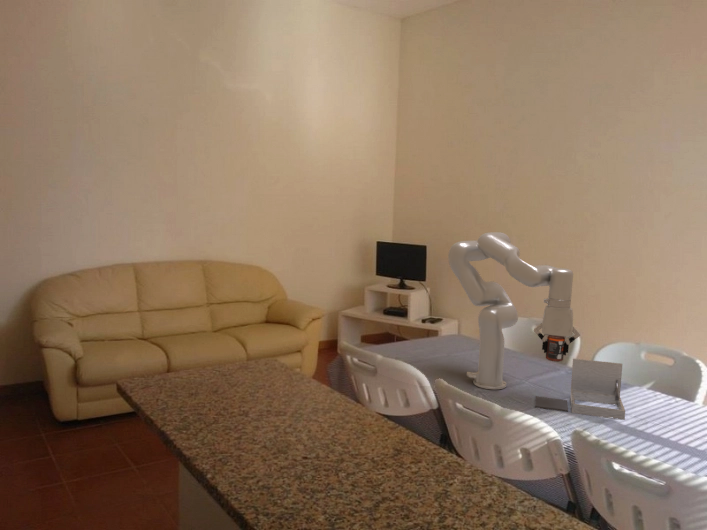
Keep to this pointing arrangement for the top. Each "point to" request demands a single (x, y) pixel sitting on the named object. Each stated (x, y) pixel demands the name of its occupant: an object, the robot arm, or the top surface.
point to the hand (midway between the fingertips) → (554, 352)
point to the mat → (551, 403)
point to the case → (596, 387)
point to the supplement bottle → (555, 348)
